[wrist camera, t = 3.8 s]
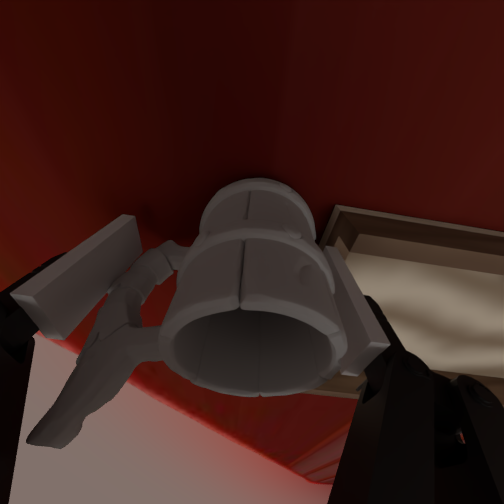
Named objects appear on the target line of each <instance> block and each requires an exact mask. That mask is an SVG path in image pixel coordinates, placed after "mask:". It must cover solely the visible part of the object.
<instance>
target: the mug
mask: <svg viewBox="0 0 504 504" xmlns="http://www.w3.org/2000/svg"><path fill="white" fill-rule="evenodd" d="M199 234H200V235H198V236H197V238H196V239H195V241H194V243H193V244H192V246H191V247H183V246H179V245H178V244H176V243H175V242H174V241H173V240H168V241H166V242H165V243H163V244H161V245H160V246H158V247H157V248H156V249H153V248H151V249H149V250H148V251H147V252H145V253H144V254H143V255H142V256H141V257H139V258H138V259H137V260H136V261H135V262H134V263H133V264H132V265H131V267H130V268H131V269H130V270H129V271H128V272H125V273H123V274H122V275H121V276H120V277H118V278H117V279H116V280H115V281H114V282H113V283H112V285H111V286H110V287H109V289H108V291H107V293H108V294H109V296H108V298H107V299H106V301H105V304H104V306H103V307H101V308H100V309H99V311H98V314H97V318H96V321H95V324H94V326H93V328H92V330H91V332H90V334H89V336H88V338H87V340H86V343H85V345H84V347H83V349H82V351H81V353H80V355H79V356H78V358H77V360H76V364H77V366H76V367H75V369H74V370H73V372H72V374H71V375H70V377H69V379H68V380H67V382H66V384H65V386H64V388H63V390H62V391H61V393H60V395H59V396H58V398H57V400H56V401H55V403H54V405H53V406H52V407H51V408H50V409H49V411H48V412H47V413H46V414H45V415H44V417H43V418H42V419H41V420H40V421H39V422H38V424H37V425H36V426H35V427H34V429H33V430H32V431H31V433H30V434H29V435H28V437H27V439H26V443H27V444H31V445H36V446H47V447H53V448H58V449H61V448H63V447H65V446H66V445H67V444H69V443H70V442H71V441H72V440H73V439H74V438H75V437H76V436H77V435H78V433H79V432H80V430H81V428H82V423H83V421H84V419H85V417H86V416H87V415H89V414H90V413H92V412H95V411H96V410H98V409H99V408H100V407H102V406H103V405H104V404H105V403H107V402H108V401H110V400H112V399H113V398H114V396H115V395H116V394H117V393H118V392H119V391H120V389H121V388H122V386H123V385H124V383H125V382H126V381H127V379H128V378H129V376H130V375H131V373H132V372H133V370H134V368H135V367H136V366H137V365H138V364H139V363H141V362H144V361H160V360H164V362H165V363H166V364H167V366H168V367H169V368H170V369H171V370H173V371H174V372H176V373H178V374H180V375H181V376H182V377H183V378H186V379H190V381H191V382H192V383H193V384H195V385H198V386H200V387H204V388H208V389H210V390H213V391H216V392H220V393H224V394H229V395H235V396H244V397H257V396H259V393H260V394H261V396H263V397H267V396H279V395H289V394H295V393H300V392H304V391H307V390H312V389H315V388H317V387H319V386H320V385H322V384H324V383H325V382H327V379H330V380H331V379H332V377H333V376H334V375H335V374H336V373H337V372H338V371H339V370H340V369H341V367H342V363H341V358H342V357H343V356H344V355H345V354H346V352H347V347H348V343H347V337H346V333H345V330H344V327H343V324H342V321H341V318H340V315H339V312H338V309H337V306H336V303H335V300H334V297H333V294H334V293H335V283H334V279H333V274H332V271H331V268H330V266H329V264H328V262H327V259H326V257H325V255H324V254H323V252H322V251H321V249H320V248H319V247H318V245H317V244H316V243H315V239H316V231H315V224H314V220H313V216H312V214H311V211H310V209H309V207H308V206H307V204H306V202H305V201H304V200H303V198H302V197H301V196H300V195H299V194H298V193H297V192H296V191H294V190H293V189H292V188H290V187H289V186H287V185H285V184H283V183H281V182H278V181H275V180H271V179H267V178H253V179H244V180H239V181H236V182H234V183H231V184H229V185H227V186H226V187H224V188H222V189H220V190H219V191H218V192H217V193H216V194H215V196H214V197H213V198H212V199H211V200H210V202H209V203H208V205H207V206H206V208H205V210H204V212H203V215H202V218H201V221H200V227H199ZM173 270H178V274H177V290H176V292H175V295H174V297H173V299H172V302H171V304H170V306H169V309H168V311H167V313H166V316H165V318H164V320H163V323H162V325H160V326H153V327H145V328H143V327H142V318H141V316H140V308H141V304H143V303H144V302H145V300H146V298H147V297H148V295H149V294H150V292H151V291H152V290H153V289H154V286H155V285H156V284H158V285H159V284H161V283H162V282H163V281H165V280H166V279H167V278H168V277H169V276H170V275H172V274H173Z"/></svg>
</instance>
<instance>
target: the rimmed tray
mask: <svg viewBox="0 0 504 504" xmlns="http://www.w3.org/2000/svg"><path fill="white" fill-rule="evenodd" d="M325 246H331V247H337V249H338V250H339V252H340V254H341V256H342V258H343V259H344V261H345V263H346V265H347V267H348V268H349V270H350V272H351V274H352V276H353V277H354V279H355V281H356V283H357V285H358V286H359V288H360V290H361V292H362V294H363V295H368V296H370V297H371V298H372V299H374V300H375V301H376V302H377V303H378V305H379V306H380V308H381V310H382V311H383V314H384V315H385V316H386V318H387V321H388V322H389V323H390V325H391V326H392V328H393V329H394V331H395V333H396V334H397V336H398V338H399V339H400V341H401V343H402V344H403V346H404V348H405V349H406V351H409V352H411V353H413V354H415V355H416V356H417V357H419V358H420V359H421V360H423V362H424V363H425V364H426V365H427V366H428V367H429V369H430V370H431V371H433V372H435V373H438V374H440V375H442V376H445V377H447V378H449V379H454V378H456V377H457V376H459V375H466V376H469V377H472V378H474V379H476V380H477V381H479V382H481V383H482V384H483V385H485V386H486V387H487V388H488V389H490V390H491V392H492V393H493V394H494V395H495V396H496V397H497V398H498V399H499V401H500V402H501V404H502V405H503V407H504V232H499V231H493V230H487V229H481V228H475V227H469V226H463V225H457V224H451V223H445V222H439V221H433V220H426V219H420V218H414V217H408V216H402V215H396V214H390V213H384V212H378V211H372V210H366V209H360V208H354V207H347V206H341V205H335V207H334V210H333V212H332V215H331V217H330V219H329V222H328V224H327V226H326V229H325V231H324V234H323V236H322V238H321V241H320V243H319V246H318V247H319V248H320V249H321V251H322V252H323V250H324V248H325ZM366 379H367V377H366V375H365V372H364V371H363V372H362V373H361V374H359V375H358V376H349V375H341V372H340V370H339V371H338V372H337V373H336V374H335V375H334V376H333V377H332V379H331V380H330V379H327V382H325V383H324V384H322V385H320V386H319V387H317V388H315V389H312V390H307V391H304V392H300V393H308V394H317V395H326V396H335V397H344V398H353V399H359V396H360V392H361V390H360V391H358V392H357V391H356V388H357V387H358V386H359V385H360V384H361V383H362V382H363V381H365V380H366Z"/></svg>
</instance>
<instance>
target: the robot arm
mask: <svg viewBox="0 0 504 504" xmlns="http://www.w3.org/2000/svg"><path fill="white" fill-rule="evenodd" d="M142 252H143V250H142V245H141V241H140V236H139V231H138V227H137V222H136V217H135V216H131V215H125V214H122V215H121V216H120V217H118V218H117V219H115V220H114V221H112V222H111V223H110V224H108V225H107V226H105V227H104V228H102V229H101V230H100V231H98V232H97V233H95V234H94V235H92V236H91V237H90V238H88V239H87V240H85V241H84V242H82V243H81V244H80V245H78V246H77V247H75V248H74V249H72V250H71V251H70V252H68V253H66V252H65V253H62V254H60V255H57V256H55V257H53V258H51V259H49V260H48V261H46V262H45V263H43V264H42V265H41V267H37V268H36V269H34V270H33V271H32V273H28V274H27V275H25V276H24V277H22V278H21V279H19V280H18V281H16V282H15V283H13V284H12V285H11V286H9V287H8V288H6V289H5V290H3V291H2V292H0V504H8V503H9V497H10V491H11V485H12V479H13V472H14V466H15V461H16V455H17V449H18V443H19V436H20V431H21V424H22V418H23V412H24V406H25V400H26V394H27V388H28V382H29V376H30V370H31V364H32V358H33V352H34V346H35V340H34V338H33V337H32V336H33V335H34V334H35V333H36V332H37V331H38V330H40V331H41V333H42V334H43V335H44V336H45V337H46V338H51V339H59V340H65V339H66V338H67V337H68V335H69V334H70V333H71V332H72V331H73V330H74V329H75V328H76V326H77V325H78V324H79V323H80V322H81V321H82V320H83V319H84V317H85V316H86V315H87V314H88V313H89V312H90V311H91V310H92V308H93V307H94V306H95V305H96V304H97V303H98V302H99V301H100V299H101V298H102V297H103V296H104V295H105V294H106V293H107V291H108V289H109V287H110V286H111V285H112V283H113V282H114V281H115V280H116V279H117V278H118V277H120V276H121V275H122V274H123V273H124V272H125V271H126V270H127V269H128V268H129V267H130V266H131V265H132V263H133V262H134V261H135V260H136V259H137V258H138V257H139V256H140V254H141V253H142ZM323 254H324V255H325V257H326V259H327V262H328V264H329V266H330V268H331V271H332V274H333V279H334V283H335V293H334V294H333V297H334V300H335V303H336V306H337V309H338V312H339V315H340V318H341V321H342V324H343V327H344V330H345V333H346V337H347V343H348V347H347V352H346V354H345V355H344V356H343V357H342V358H341V363H342V367H341V369H340V372H341V375H349V376H358V375H359V374H361V373H362V372H363V371H364V372H365V375H366V377H367V379H366V380H365V381H363V382H362V383H361V384H360V385H359V386H358V387H357V388H356V391H357V392H358V391H360V390H361V392H360V396H359V399H358V402H357V406H356V409H355V413H354V416H353V419H352V423H351V426H350V429H349V433H348V436H347V439H346V443H345V446H344V449H343V453H342V456H341V459H340V463H339V466H338V470H337V473H336V476H335V480H334V483H333V487H332V490H331V493H330V496H329V500H328V503H327V504H504V407H503V405H502V404H501V402H500V401H499V399H498V398H497V397H496V396H495V395H494V394H493V393H492V392H491V390H490V389H488V388H487V387H486V386H485V385H483V384H482V383H481V382H479V381H477V380H476V379H474V378H472V377H469V376H466V375H459V376H457V377H456V378H454V379H449V378H447V377H445V376H442V375H440V374H438V373H435V372H433V371H431V370H430V369H429V367H428V366H427V365H426V364H425V363H424V362H423V360H421V359H420V358H419V357H417V356H416V355H415V354H413V353H411V352H409V351H406V349H405V348H404V346H403V344H402V343H401V341H400V339H399V338H398V336H397V334H396V333H395V331H394V329H393V328H392V326H391V325H390V323H389V322H388V321H387V318H386V316H385V315H384V314H383V311H382V310H381V308H380V306H379V305H378V303H377V302H376V301H375V300H374V299H372V298H371V297H370V296H368V295H363V294H362V292H361V290H360V288H359V286H358V285H357V283H356V281H355V279H354V277H353V276H352V274H351V272H350V270H349V268H348V267H347V265H346V263H345V261H344V259H343V258H342V256H341V254H340V252H339V250H338V249H337V247H331V246H325V248H324V250H323ZM460 433H462V434H463V437H464V440H465V443H466V444H464V443H463V441H462V439H461V437H460Z"/></svg>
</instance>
